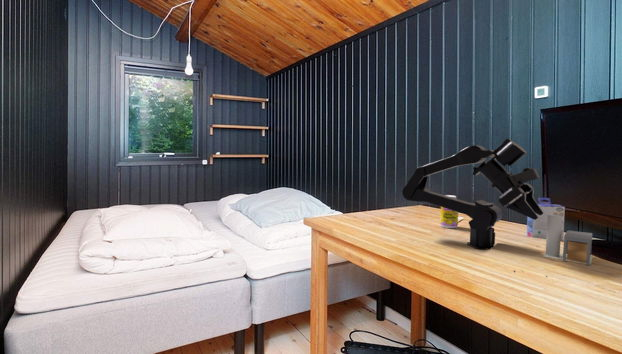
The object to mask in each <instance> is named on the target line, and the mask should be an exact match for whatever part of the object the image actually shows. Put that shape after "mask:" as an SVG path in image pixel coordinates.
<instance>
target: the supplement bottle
mask: <svg viewBox="0 0 622 354" xmlns="http://www.w3.org/2000/svg"><path fill="white" fill-rule="evenodd" d="M444 195H445V196H449V197H452V198H456V199H457V196H456V195H450V194H444ZM439 217H440V218H439V219H440V220H439V221H440V222H439V224H440V227H442V228H445V229H457V228H458V227H459V226H458V225H459V212H456V211H453V210H450V209H447V208H444V207H440V216H439Z"/></svg>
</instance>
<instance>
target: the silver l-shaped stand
mask: <svg viewBox="0 0 622 354" xmlns="http://www.w3.org/2000/svg"><path fill="white" fill-rule="evenodd" d="M561 224H562V216H559V215H548V219H547V238H546V239H545V241H546V243H545V253H544V254H543V257H546V258H550V259H551V258H552V259H557V260H562V261H563V253H561V242H562V241H561ZM566 261H568V262H574V263H580V264H584V265H586V263H585V262H579V261H574V260H568V259H567V254H566ZM592 261H593V255H592V254H591V255H590V262H589V265H592Z"/></svg>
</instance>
